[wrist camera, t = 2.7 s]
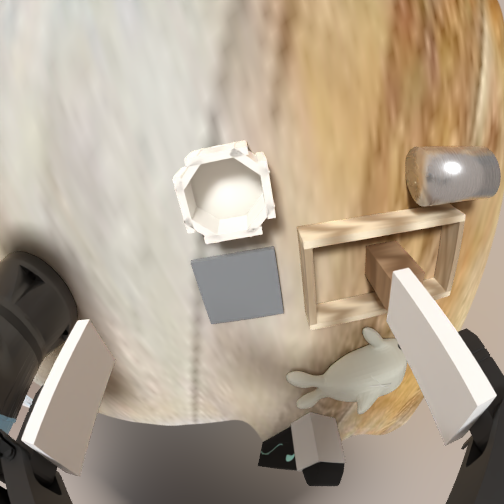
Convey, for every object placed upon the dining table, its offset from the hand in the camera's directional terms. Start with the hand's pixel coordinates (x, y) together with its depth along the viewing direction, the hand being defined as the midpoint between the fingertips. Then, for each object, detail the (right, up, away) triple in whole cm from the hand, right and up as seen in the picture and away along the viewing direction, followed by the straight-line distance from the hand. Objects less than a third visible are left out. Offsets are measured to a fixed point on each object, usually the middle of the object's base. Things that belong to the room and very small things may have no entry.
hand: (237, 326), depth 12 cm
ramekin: (-2, +10, +16) cm, 19 cm away
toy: (+16, -14, +31) cm, 37 cm away
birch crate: (+16, +2, +21) cm, 27 cm away
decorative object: (+10, -35, +42) cm, 56 cm away
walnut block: (+16, +2, +21) cm, 27 cm away
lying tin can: (+22, +13, +16) cm, 30 cm away
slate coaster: (-1, -1, +22) cm, 22 cm away
